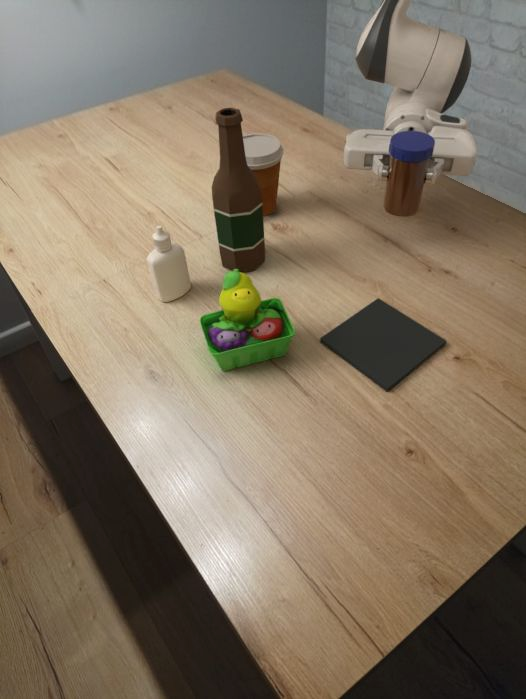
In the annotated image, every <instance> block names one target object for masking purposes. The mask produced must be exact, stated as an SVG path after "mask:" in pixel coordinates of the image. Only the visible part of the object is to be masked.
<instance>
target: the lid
mask: <svg viewBox="0 0 526 699" xmlns="http://www.w3.org/2000/svg"><path fill="white" fill-rule="evenodd" d="M434 146H435V140H434V138H433V137H432V136H430V135H428V134H426V133H423V132H419V131H403V132H399V133H397V134H395V135H393V136H392V137H391V140H390V144H389V153H390V155H391V156H392V157H394V158H395V159H397V160H400V161H404V162H421V161H425V160H427V159H429V158H430V157H432V154H433V150H434Z"/></svg>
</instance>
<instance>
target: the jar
mask: <svg viewBox="0 0 526 699" xmlns="http://www.w3.org/2000/svg"><path fill="white" fill-rule="evenodd" d="M429 159H430V158H429ZM429 159H427V160H425V161H421V162H404V161H400V160H397V159H395V158H394V157H392V156H390V163H389V173H388V180H387V181H386V185H385V191H384V199H383V209H384V210H385V212H386V213H388V214H389V215H391V216H394V217H400V218H405V217H411V216H414V215H416V214H418V212H419V211H420V208H421V204H422V203H421V202H422V198H423V193H424V188H425V178H426V173H427V169H428V164H429Z"/></svg>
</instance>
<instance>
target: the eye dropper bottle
mask: <svg viewBox="0 0 526 699" xmlns="http://www.w3.org/2000/svg"><path fill="white" fill-rule="evenodd" d="M151 238H152V242H153V246H154V248H153V249H152V250H151V252H150V253H149V254H148V255H147V257H146V265H147V269H148V273H149V275H150V280H151V284H152V288H153V291H154V295H155V297H156V298H157V299H158V300H159V301H160V302H162V303H169V302H172V301H175V300H177V299H179V298H181V297H183V296H185V294H187V293H188V292H189V291H190V289H191V288H192V283H191V277H190V272H189V267H188V262H187V257H186V252H185V249H184V247H182V245H180V244H178V243H177V242H172V239H171V236H170V232H168V231H166V230H164V229H163V227H162V226H161V225H156V227H155V232H154V233H153V234H152V236H151Z"/></svg>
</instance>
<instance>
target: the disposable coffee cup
mask: <svg viewBox="0 0 526 699" xmlns="http://www.w3.org/2000/svg"><path fill="white" fill-rule="evenodd" d="M242 135H243V142H244V149H245V156H246V162H247V165H248V166H249V168H250V169H251V170H252V171H253V172H254V174H255V176H256V178H257V181H258V184H259V187H260V191H261V197H262V206H263V217H265V216H269V215H271V214H273V213H274V212H275V211H276V209H277V201H278V192H279V182H280V171H281V162H282V158H283V156H284V153H285V152H284V151H285V150H284V147H283V146H282V143H281V141H280V139H279V138H277V137H276V136H274V135H271V134H268V133H261V132H257V133H256V132H255V133H248V134H242Z"/></svg>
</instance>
